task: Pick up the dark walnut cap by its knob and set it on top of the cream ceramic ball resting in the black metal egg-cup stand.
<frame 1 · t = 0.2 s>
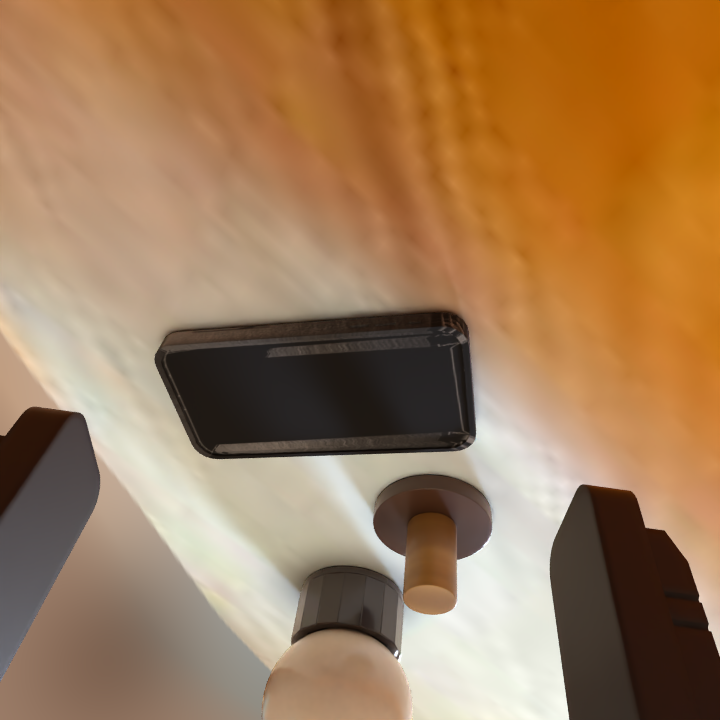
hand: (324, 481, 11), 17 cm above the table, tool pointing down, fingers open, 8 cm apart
ball: (337, 708, 38), point 7 cm above the table, touching stand
phone: (321, 382, 32), on the table
stand: (352, 595, 44), on the table
cap: (432, 513, 38), on the table
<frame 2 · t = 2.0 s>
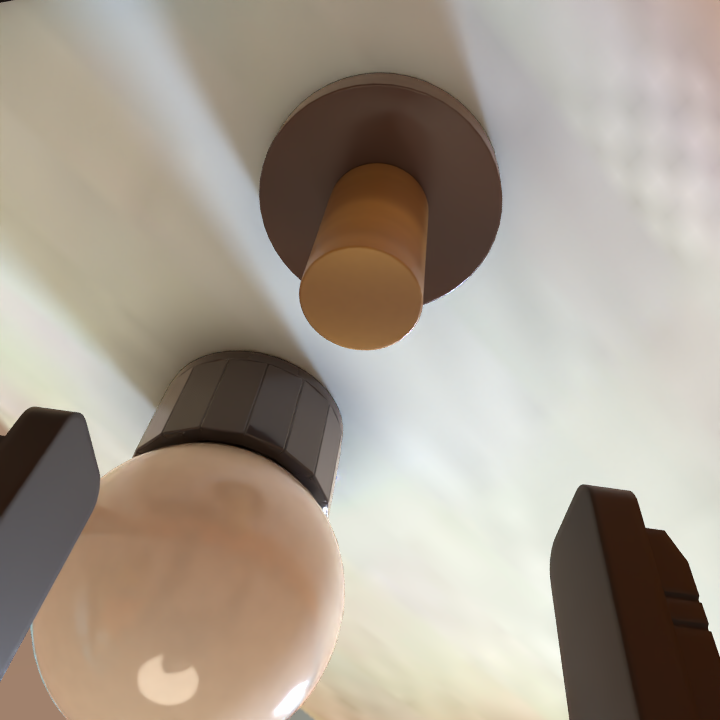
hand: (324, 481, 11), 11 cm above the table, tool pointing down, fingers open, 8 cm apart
ball: (196, 591, 19), point 7 cm above the table, touching stand
stand: (255, 420, 25), on the table
cap: (381, 195, 19), on the table
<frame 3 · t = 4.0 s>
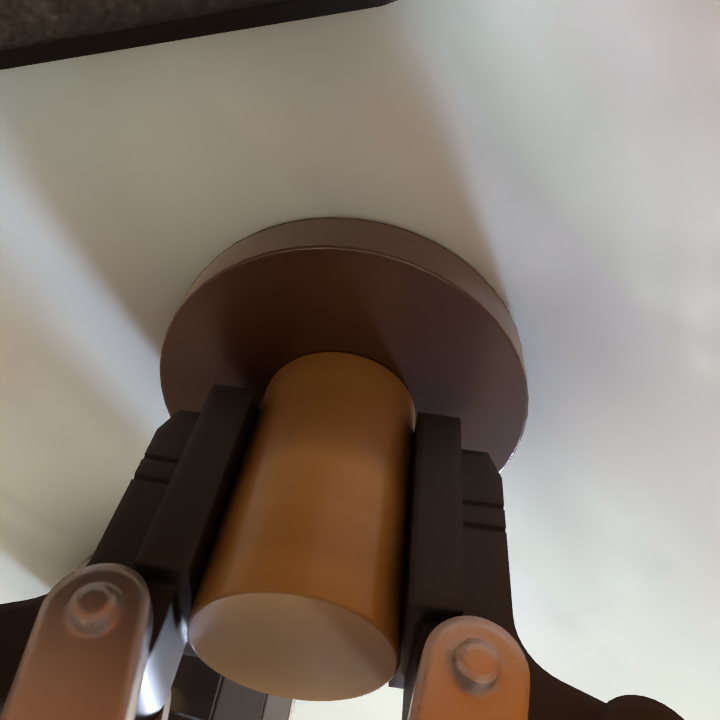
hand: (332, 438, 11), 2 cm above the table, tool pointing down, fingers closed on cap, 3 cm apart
stand: (190, 614, 19), on the table
cap: (346, 376, 13), on the table, touching gripper
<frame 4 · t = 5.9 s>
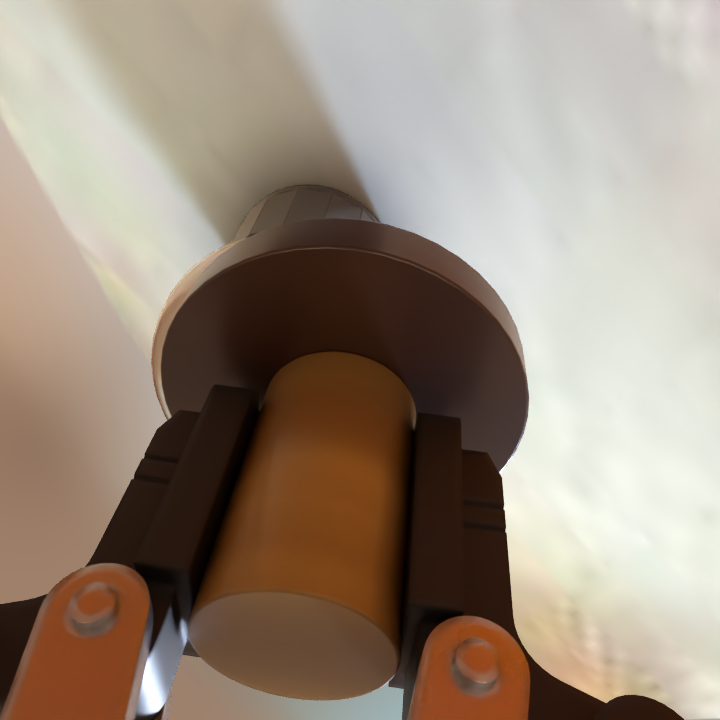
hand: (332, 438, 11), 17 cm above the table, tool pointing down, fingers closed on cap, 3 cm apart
ball: (281, 359, 23), point 7 cm above the table, touching stand
stand: (314, 257, 29), on the table
cap: (347, 375, 13), point 16 cm above the table, touching gripper
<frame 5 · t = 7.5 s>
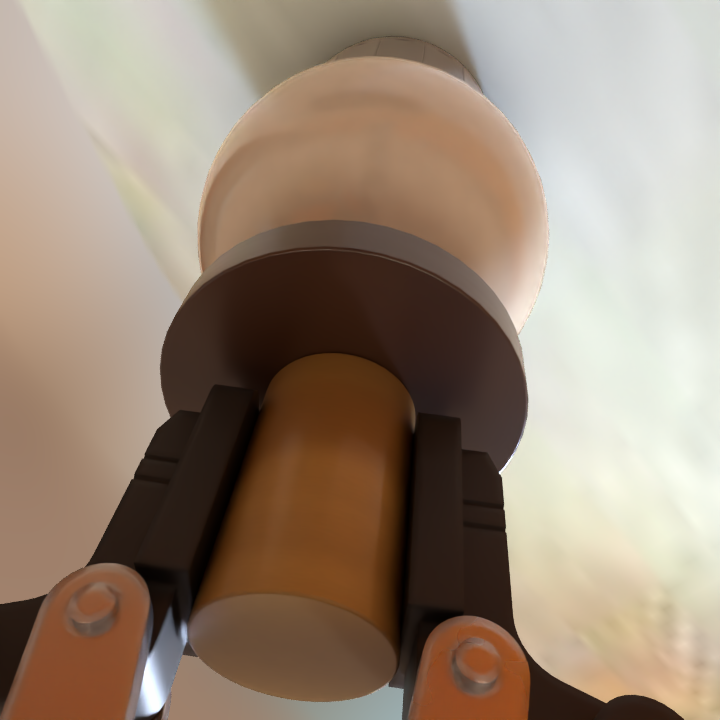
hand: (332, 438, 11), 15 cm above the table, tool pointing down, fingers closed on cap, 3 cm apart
ball: (372, 243, 17), point 7 cm above the table, touching stand
stand: (392, 143, 23), on the table
cap: (346, 377, 13), point 13 cm above the table, touching gripper
when the fingers open (14 cm above the table, at t = 8.1 s): cap stays where it is, resting on ball.
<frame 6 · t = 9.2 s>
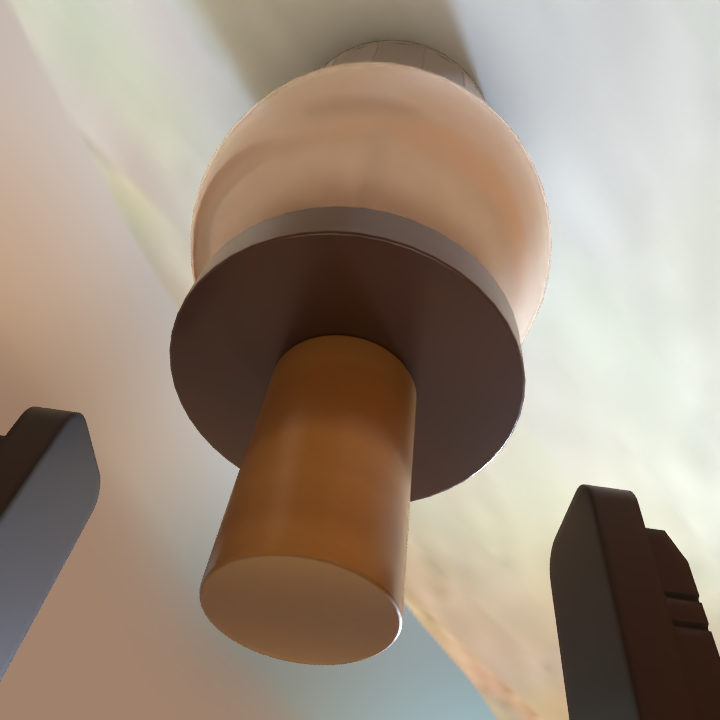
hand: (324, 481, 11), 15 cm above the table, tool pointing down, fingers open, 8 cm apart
ball: (370, 252, 17), point 7 cm above the table, touching cap, stand
stand: (391, 149, 22), on the table
cap: (349, 360, 13), point 12 cm above the table, touching ball
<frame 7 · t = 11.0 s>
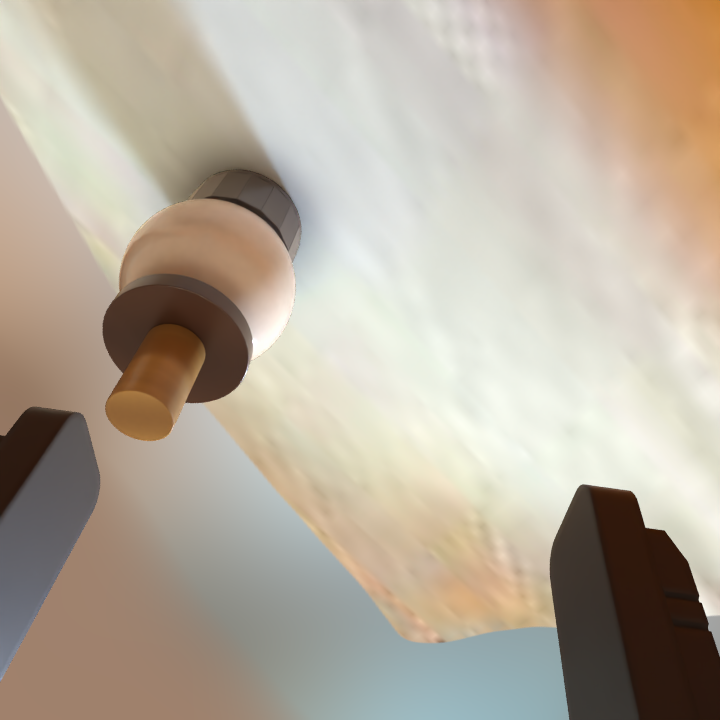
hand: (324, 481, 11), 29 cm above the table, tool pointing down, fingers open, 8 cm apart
ball: (210, 286, 34), point 7 cm above the table, touching cap, stand
stand: (245, 224, 40), on the table
cap: (182, 335, 30), point 12 cm above the table, touching ball
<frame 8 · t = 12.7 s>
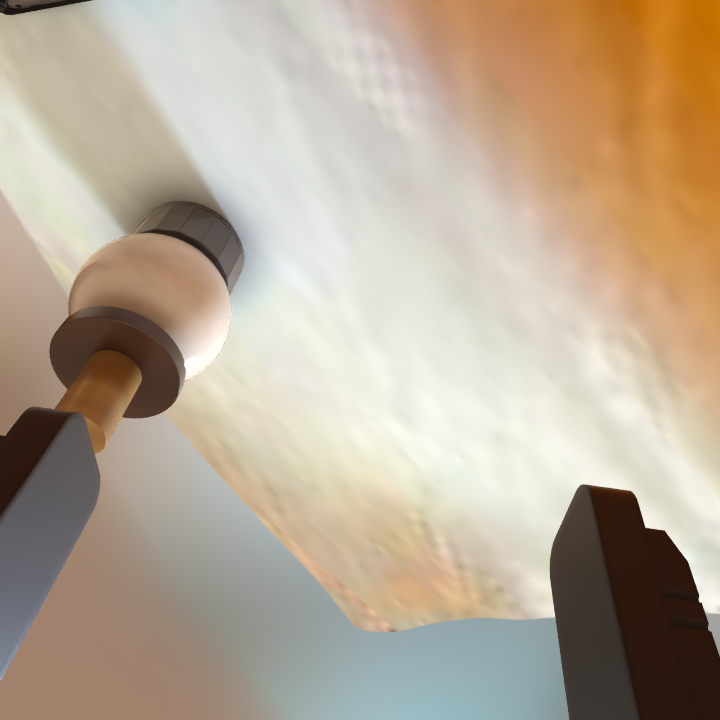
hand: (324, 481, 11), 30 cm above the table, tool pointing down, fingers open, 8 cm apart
ball: (152, 311, 37), point 7 cm above the table, touching cap, stand
stand: (192, 249, 43), on the table
cap: (122, 359, 34), point 12 cm above the table, touching ball
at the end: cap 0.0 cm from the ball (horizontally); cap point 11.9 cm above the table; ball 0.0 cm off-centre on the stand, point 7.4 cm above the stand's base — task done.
